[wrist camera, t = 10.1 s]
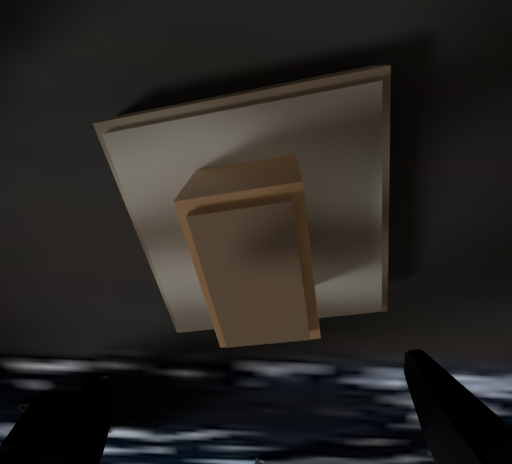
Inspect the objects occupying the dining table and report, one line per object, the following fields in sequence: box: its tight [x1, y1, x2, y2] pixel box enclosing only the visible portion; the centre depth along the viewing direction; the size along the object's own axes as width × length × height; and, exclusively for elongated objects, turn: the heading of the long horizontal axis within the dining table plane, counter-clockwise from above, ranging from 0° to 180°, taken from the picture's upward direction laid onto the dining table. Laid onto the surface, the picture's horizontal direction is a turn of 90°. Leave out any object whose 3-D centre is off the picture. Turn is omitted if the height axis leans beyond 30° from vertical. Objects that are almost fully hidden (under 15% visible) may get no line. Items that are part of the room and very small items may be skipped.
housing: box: [173, 154, 321, 348], centre depth 15 cm, size 5×8×4 cm, turn 10°
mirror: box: [93, 65, 391, 333], centre depth 19 cm, size 14×14×3 cm
